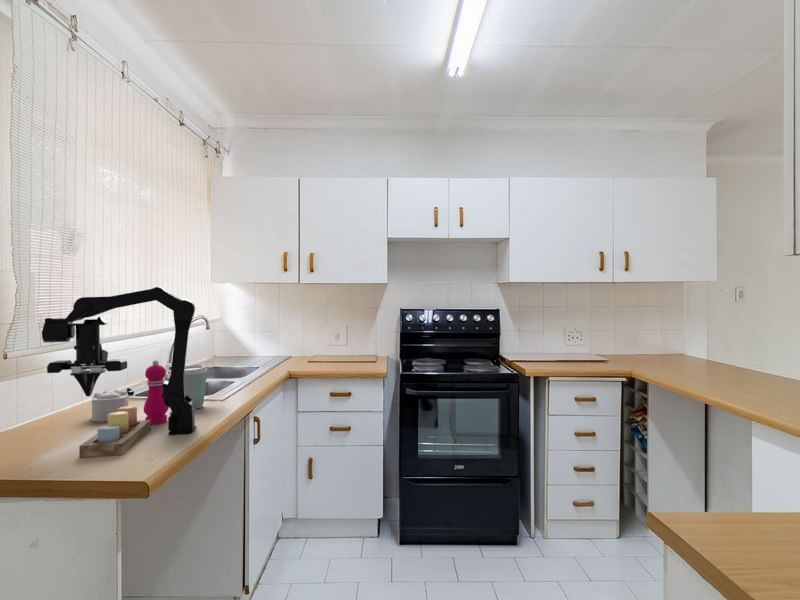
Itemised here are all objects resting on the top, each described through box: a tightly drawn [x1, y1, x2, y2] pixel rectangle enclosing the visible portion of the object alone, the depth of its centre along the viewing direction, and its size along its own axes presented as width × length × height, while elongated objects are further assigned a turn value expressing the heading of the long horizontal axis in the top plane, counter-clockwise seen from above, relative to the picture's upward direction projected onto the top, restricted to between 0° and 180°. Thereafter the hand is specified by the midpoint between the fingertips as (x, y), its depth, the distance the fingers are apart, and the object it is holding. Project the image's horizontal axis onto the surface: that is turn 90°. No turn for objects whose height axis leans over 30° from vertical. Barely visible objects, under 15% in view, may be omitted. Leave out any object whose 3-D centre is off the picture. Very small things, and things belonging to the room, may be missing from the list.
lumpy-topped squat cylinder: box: [91, 389, 129, 422], centre depth 166 cm, size 10×13×9 cm
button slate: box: [96, 425, 119, 443], centre depth 131 cm, size 5×5×5 cm
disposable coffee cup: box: [184, 364, 209, 410], centre depth 179 cm, size 11×11×15 cm
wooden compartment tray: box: [78, 419, 152, 458], centre depth 138 cm, size 10×24×3 cm, turn 11°
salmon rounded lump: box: [117, 405, 138, 427], centre depth 144 cm, size 5×5×5 cm
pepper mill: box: [143, 360, 169, 425], centre depth 159 cm, size 7×7×20 cm
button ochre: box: [107, 412, 129, 434], centre depth 138 cm, size 5×5×5 cm
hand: (88, 396), depth 140 cm, fingers closed
